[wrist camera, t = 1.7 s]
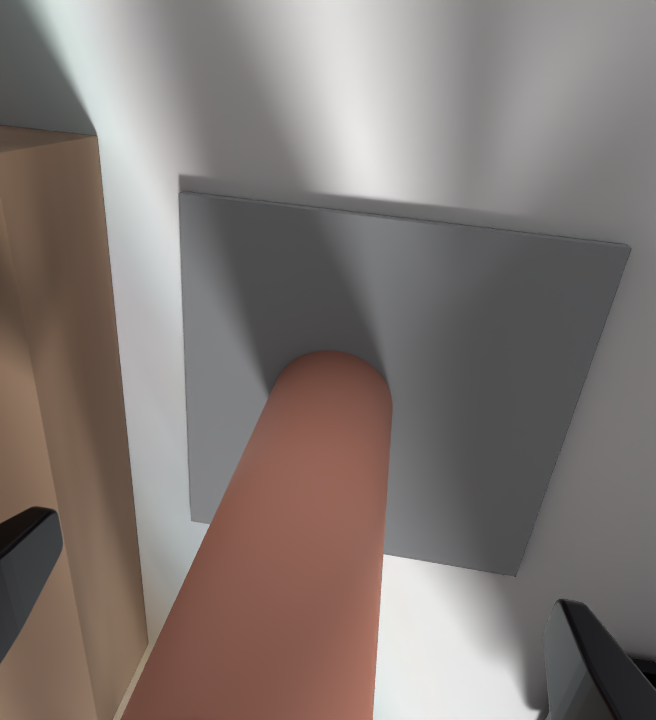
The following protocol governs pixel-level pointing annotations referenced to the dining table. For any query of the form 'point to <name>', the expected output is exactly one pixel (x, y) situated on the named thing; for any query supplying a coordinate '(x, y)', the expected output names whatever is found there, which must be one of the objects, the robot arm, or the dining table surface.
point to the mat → (398, 354)
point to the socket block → (65, 431)
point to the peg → (287, 563)
